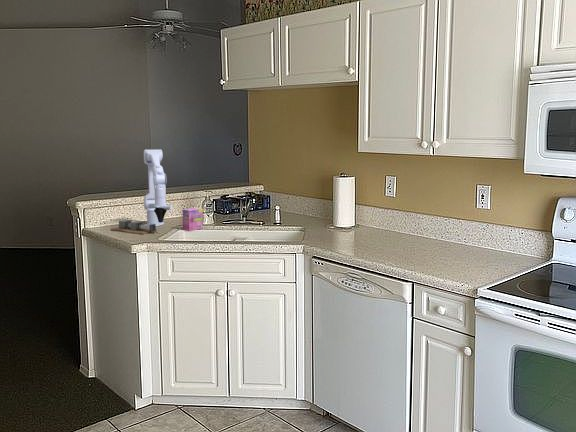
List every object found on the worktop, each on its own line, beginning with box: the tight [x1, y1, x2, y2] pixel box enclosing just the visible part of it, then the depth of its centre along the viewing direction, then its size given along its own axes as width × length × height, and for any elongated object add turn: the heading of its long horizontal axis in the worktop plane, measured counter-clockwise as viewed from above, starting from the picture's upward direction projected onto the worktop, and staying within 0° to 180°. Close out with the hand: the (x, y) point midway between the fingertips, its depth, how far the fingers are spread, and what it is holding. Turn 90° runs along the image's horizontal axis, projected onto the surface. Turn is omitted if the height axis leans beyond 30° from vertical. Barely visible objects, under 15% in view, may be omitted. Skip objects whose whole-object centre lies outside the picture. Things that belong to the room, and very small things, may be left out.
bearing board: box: [110, 219, 158, 236], centre depth 320 cm, size 12×22×5 cm, turn 64°
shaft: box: [126, 223, 157, 233], centre depth 318 cm, size 4×20×4 cm, turn 64°
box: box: [182, 206, 204, 232], centre depth 326 cm, size 10×6×12 cm, turn 143°
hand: (160, 222), depth 311 cm, fingers closed
